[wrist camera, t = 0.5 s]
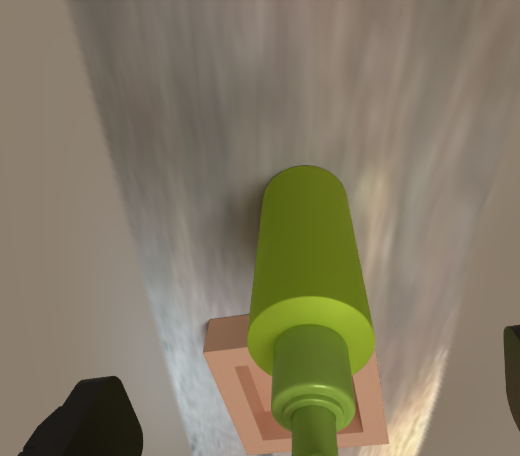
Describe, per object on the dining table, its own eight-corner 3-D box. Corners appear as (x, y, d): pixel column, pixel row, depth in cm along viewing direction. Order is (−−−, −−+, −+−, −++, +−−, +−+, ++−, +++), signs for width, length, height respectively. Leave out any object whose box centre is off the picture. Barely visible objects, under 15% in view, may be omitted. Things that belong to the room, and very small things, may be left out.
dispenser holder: (209, 319, 39) (202, 352, 36) (365, 298, 36) (372, 331, 33) (250, 420, 46) (247, 454, 43) (382, 408, 44) (388, 443, 41)
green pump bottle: (296, 259, 35) (299, 565, 18) (246, 190, 32) (194, 479, 15) (367, 227, 33) (444, 536, 16) (321, 150, 30) (358, 430, 13)
